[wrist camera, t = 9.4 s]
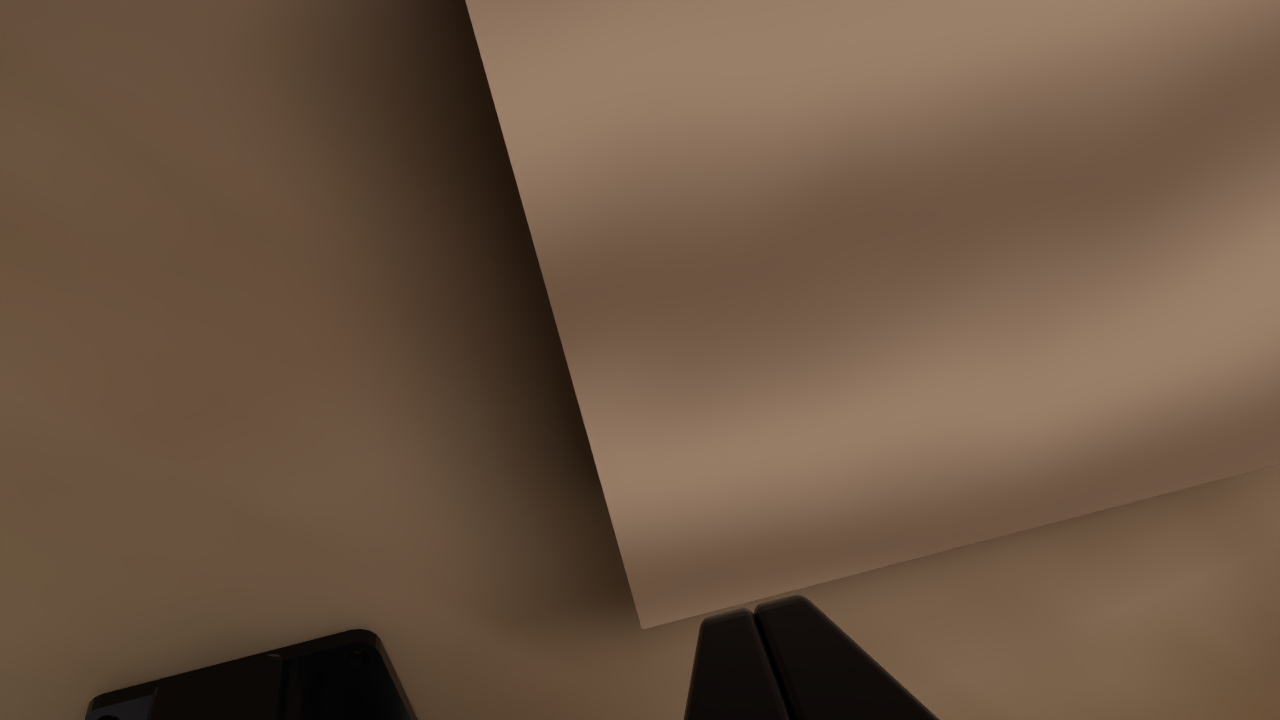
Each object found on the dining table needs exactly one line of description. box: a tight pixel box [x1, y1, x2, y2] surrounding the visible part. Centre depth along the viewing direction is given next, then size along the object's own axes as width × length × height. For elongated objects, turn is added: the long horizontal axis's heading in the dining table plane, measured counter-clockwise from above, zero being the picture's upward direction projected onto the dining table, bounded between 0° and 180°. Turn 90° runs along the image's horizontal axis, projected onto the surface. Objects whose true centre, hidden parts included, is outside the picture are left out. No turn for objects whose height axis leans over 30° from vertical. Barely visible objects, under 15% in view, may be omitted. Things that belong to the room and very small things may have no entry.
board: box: [465, 0, 1280, 630], centre depth 20 cm, size 14×16×4 cm
